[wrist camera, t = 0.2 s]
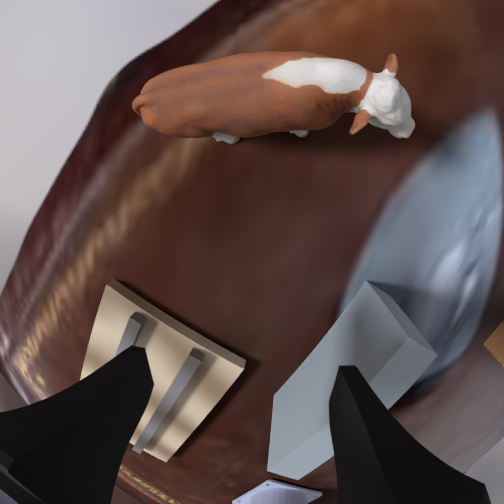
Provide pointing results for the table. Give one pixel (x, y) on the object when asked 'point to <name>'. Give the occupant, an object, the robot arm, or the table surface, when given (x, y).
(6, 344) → the table surface
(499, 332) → the arch
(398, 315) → the grey rectangular block
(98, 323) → the track board
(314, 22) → the table surface
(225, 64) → the bull figurine
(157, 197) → the table surface
